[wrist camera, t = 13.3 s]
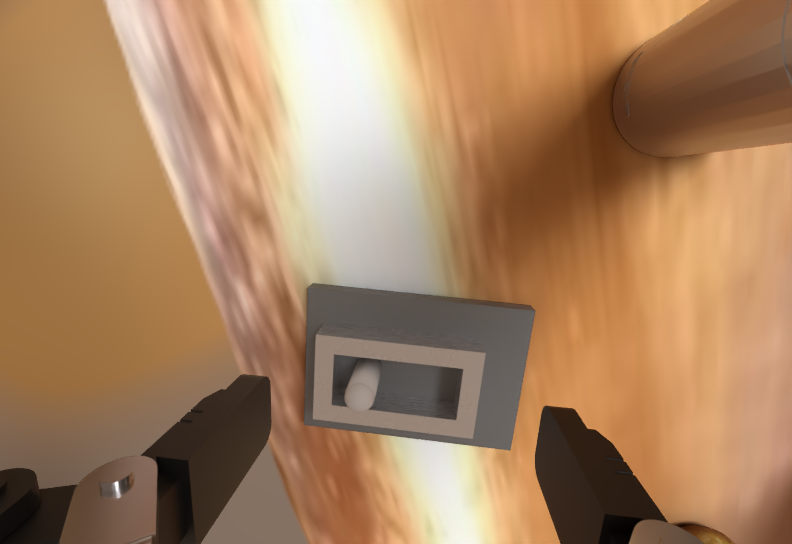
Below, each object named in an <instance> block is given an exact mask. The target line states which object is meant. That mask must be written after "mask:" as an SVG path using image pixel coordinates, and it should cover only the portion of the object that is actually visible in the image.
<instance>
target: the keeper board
mask: <svg viewBox="0 0 792 544" xmlns="http://www.w3.org/2000/svg"><path fill="white" fill-rule="evenodd" d="M534 315H535V310H534V309H533V308H532V307H531V306H530V305H521V304H511V303H501V302H491V301H481V300H472V299H462V298H452V297H442V296H432V295H422V294H412V293H403V292H393V291H383V290H373V289H363V288H353V287H343V286H334V285H324V284H314V283H313V284H312V285H310V286H309V287H308V300H307V336H306V372H305V408H304V425H310V426H318V427H326V428H334V429H342V430H350V431H358V432H366V433H374V434H382V435H390V436H398V437H406V438H414V439H422V440H431V441H439V442H447V443H455V444H463V445H471V446H479V447H487V448H495V449H503V450H511V444H512V439H513V433H514V427H515V422H516V416H517V411H518V405H519V399H520V394H521V388H522V383H523V377H524V371H525V366H526V360H527V355H528V349H529V343H530V338H531V332H532V327H533V321H534ZM325 322H333V323H342V324H352V325H361V326H370V327H379V328H389V329H398V330H407V331H416V332H426V333H435V334H444V335H454V336H463V337H472V338H480V339H481V341H482V344H483V347H484V350H485V352H486V355H485V362H484V368H483V375H482V382H481V388H480V395H479V401H478V408H477V415H476V421H475V428H474V435H473V439H469V438H461V437H453V436H445V435H437V434H429V433H421V432H413V431H405V430H397V429H389V428H380V427H372V426H364V425H356V424H348V423H340V422H332V421H324V420H316V419H313V400H314V371H315V342H316V334H317V332H318V331H319V330H320V328H321V327H322V326H323V324H324V323H325ZM457 372H458V368H450V367H442V366H433V365H424V364H415V363H406V362H397V361H388V360H380V359H371V358H362V357H353V356H344V355H341V366H340V385H339V387H344V388H347V389H346V392H345V403H346V405H347V407H348V408H349V409H350V410H352V411H354V412H358V413H360V412H365V411H367V410H368V409H369V408H370V407H371V406H372V405H373V403H374V400H375V396H376V391H378V392H387V393H395V394H403V395H412V396H420V397H429V398H437V399H446V400H454V395H455V387H456V380H457Z"/></svg>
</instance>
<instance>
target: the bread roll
mask: <svg viewBox="0 0 792 544" xmlns="http://www.w3.org/2000/svg"><path fill="white" fill-rule="evenodd" d="M680 528H682V529H684V530H685V531H687V532H689V533H691V534H692V535H693V536H695V537H696V538H698V539H699V540H700V541H702V542H703V543H704V544H734V543H733V542H732V541H731V540H730V539H729V538H728V537H727V536H725V535H724V534H723V533H721V532H719V531H717V530H714V529H711V528H708V527H703V526H699V525H688V526H683V527H680Z"/></svg>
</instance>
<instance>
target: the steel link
mask: <svg viewBox="0 0 792 544" xmlns="http://www.w3.org/2000/svg"><path fill="white" fill-rule="evenodd" d="M341 355H344V356H353V357H362V358H371V359H380V360H388V361H397V362H406V363H415V364H424V365H433V366H442V367H450V368H458V372H457V380H456V387H455V395H454V400H446V399H437V398H429V397H420V396H412V395H403V394H395V393H387V392H378V391H376V396H375V400H374V403H373V405H372V406H371V407H370V408H369V409H368V410H367V411H365V412H360V413H358V412H354V411H352V410H350V409H349V408H348V407H347V405H346V403H345V392H346V389H347V388H344V387H339V385H340V366H341ZM485 355H486V352H485V350H484V347H483V344H482V341H481V339H480V338H472V337H463V336H454V335H444V334H435V333H426V332H416V331H407V330H398V329H389V328H379V327H370V326H361V325H352V324H342V323H333V322H325V323H324V324H323V326H322V327H321V328H320V330H319V331H318V332H317V334H316V342H315V371H314V400H313V419H316V420H324V421H332V422H340V423H348V424H356V425H364V426H372V427H380V428H389V429H397V430H405V431H413V432H421V433H429V434H437V435H445V436H453V437H461V438H469V439H473V435H474V428H475V421H476V415H477V408H478V401H479V395H480V388H481V382H482V375H483V368H484V362H485Z"/></svg>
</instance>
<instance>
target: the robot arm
mask: <svg viewBox="0 0 792 544" xmlns="http://www.w3.org/2000/svg"><path fill="white" fill-rule="evenodd" d="M613 113H614V119H615V122H616V125H617V128H618V130H619V131H620V133H621V135H622V136H623V138H624V139H625V140H626V141H627V142H628V143H629V144H630V145H631V146H632V147H633V148H635V149H637V150H638V151H640V152H642V153H644V154H647V155H651V156H654V157H667V158H668V157H676V156H685V155H693V154H701V153H712V152H720V151H728V150H736V149H744V148H752V147H760V146H768V145H776V144H784V143H792V0H709V1H708V2H706V3H705V4H703V5H702V6H700V7H699V8H697V9H696V10H694V11H693V12H691V13H690V14H688V15H687V16H685V17H684V18H682V19H681V20H679V21H678V22H676V23H675V24H673V25H672V26H670V27H669V28H667V29H666V30H664V31H663V32H661V33H660V34H658V35H657V36H655V37H653V38H652V39H650V40H649V41H647V42H646V43H645V44H643V45H642V46H641V47H640V48H639V49H638V50H637V51H636V52H635V53H634V54H633V55H632V56H631V57H630V59H629V60H628V61H627V63H626V64H625V65H624V67H623V69H622V71H621V73H620V75H619V77H618V79H617V83H616V86H615V89H614V95H613ZM270 430H271V391H270V380H269V378H268V377H265V376H255V375H245V374H243V375H240V376H239V377H238V378H237V379H236V380H235V381H234V382H233V383H232V384H231V385H230V386H229V387H228V388H227V389H226V390H223V389H221V390H219V391H217V392H215V393H213V394H211V395H209V396H207V397H205V398H204V399H203V400H201V401H200V402H199V403H198V404H197V405H196V406H195V407H194V408H193V409H191V412H188V413H187V414H186V415H185V416H184V417H183V418H182V419H181V420H180V422H177V423H176V424H175V425H174V426H173V427H172V428H170V429H169V430H168V431H167V432H166V433H165V434H164V435H163V436H162V437H161V438H159V439H158V440H157V441H156V442H155V443H154V444H153V445H152V446H151V447H150V448H148V449H147V450H146V451H145V452H144V453H143V454H142V455H141V456H129V457H125V458H120V459H117V460H114V461H111V462H109V463H106V464H104V465H102V466H100V467H99V468H97V469H95V470H94V471H92V472H91V473H89V474H88V475H87V476H86V477H84V478H83V479H82V480H81V481H80V482H79V484H78V485H70V486H62V487H55V488H47V489H39V486H38V482H37V476H36V474H35V472H34V471H32V470H30V469H24V468H14V469H7V470H2V471H0V544H201V542H202V541H203V539H204V537H205V536H206V534H207V533H208V531H209V529H210V528H211V527H212V525H213V524H214V522H215V521H216V519H217V518H218V516H219V515H220V513H221V512H222V510H223V509H224V507H225V506H226V504H227V503H228V501H229V499H230V498H231V497H232V495H233V493H234V492H235V490H236V489H237V487H238V486H239V484H240V483H241V481H242V480H243V478H244V477H245V475H246V474H247V472H248V471H249V469H250V468H251V466H252V465H253V463H254V462H255V460H256V459H257V457H258V456H259V454H260V452H261V451H262V449H263V448H264V446H265V445H266V443H267V440H268V438H269V434H270ZM535 469H536V475H537V479H538V482H539V484H540V487H541V490H542V493H543V496H544V498H545V501H546V504H547V507H548V510H549V512H550V515H551V518H552V521H553V523H554V526H555V529H556V532H557V535H558V537H559V540H560V543H561V544H704V543H703V542H702V541H700V540H699V539H698V538H696V537H695V536H693V535H692V534H691V533H689V532H687V531H685V530H684V529H682V528H680V527H677V526H675V525H673V524H670V523H668V522H667V520H666V519H665V517H664V516H663V515H662V513H661V512H660V510H659V509H658V507H657V506H656V505H655V503H654V502H653V500H652V499H651V498H650V496H649V495H648V493H647V492H646V490H645V489H644V488H643V486H642V485H641V483H640V482H639V481H638V479H637V478H636V476H634V475H633V472H632V471H631V469H630V468H629V466H628V465H627V463H626V462H624V461H623V458H622V456H621V455H620V454H619V452H618V451H617V449H616V448H615V446H614V445H613V444H612V443H611V442H610V441H609V440H607V439H606V438H605V437H604V436H602V435H601V434H600V433H599V432H598V431H596V430H593V429H587V427H586V426H585V424H584V423H583V421H582V420H581V418H580V417H579V415H578V413H577V412H576V411H575V410H574V409H573V408H563V407H553V406H545V407H544V408H543V410H542V414H541V420H540V427H539V433H538V439H537V446H536V452H535Z"/></svg>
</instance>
